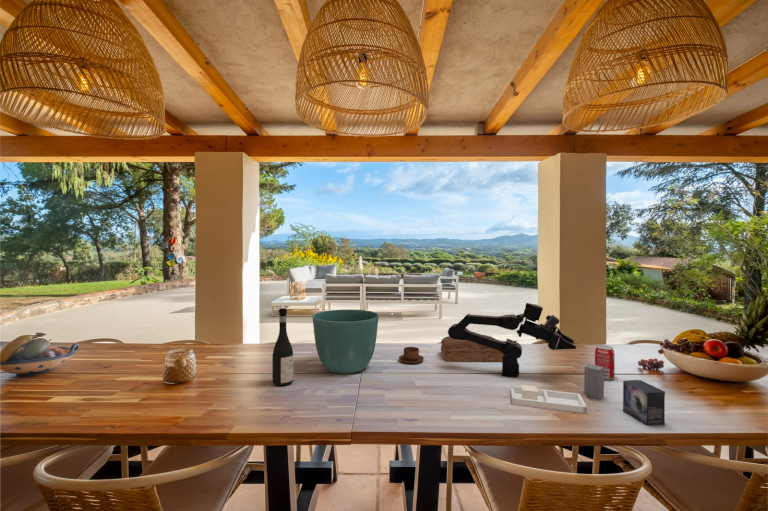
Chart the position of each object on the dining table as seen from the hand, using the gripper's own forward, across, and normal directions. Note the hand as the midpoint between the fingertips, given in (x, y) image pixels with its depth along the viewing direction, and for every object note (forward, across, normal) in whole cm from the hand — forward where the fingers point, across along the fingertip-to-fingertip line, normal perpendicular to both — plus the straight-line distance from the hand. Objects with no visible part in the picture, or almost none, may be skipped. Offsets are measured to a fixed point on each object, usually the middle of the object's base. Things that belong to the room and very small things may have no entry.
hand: (574, 344), depth 150 cm
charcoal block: (+9, -14, +13) cm, 21 cm away
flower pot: (-86, -20, +42) cm, 98 cm away
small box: (+21, -27, +9) cm, 36 cm away
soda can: (+16, +10, +12) cm, 23 cm away
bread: (-38, +19, +29) cm, 51 cm away
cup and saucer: (-63, +1, +36) cm, 72 cm away
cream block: (-12, -29, +18) cm, 36 cm away
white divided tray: (-6, -28, +17) cm, 34 cm away
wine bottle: (-100, -47, +46) cm, 119 cm away
